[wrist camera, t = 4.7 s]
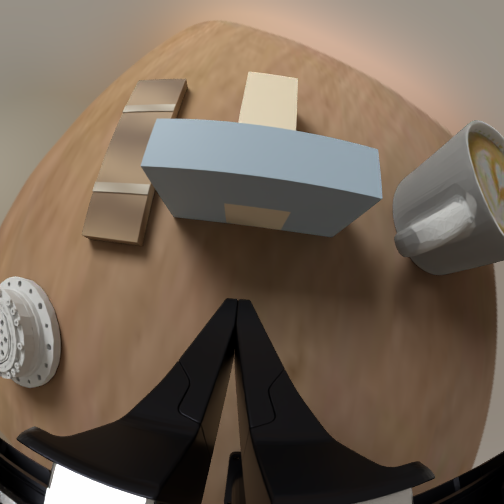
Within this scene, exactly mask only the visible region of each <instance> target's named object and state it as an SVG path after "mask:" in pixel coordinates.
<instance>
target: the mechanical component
mask: <svg viewBox="0 0 504 504" xmlns="http://www.w3.org/2000/svg"><path fill="white" fill-rule="evenodd" d="M60 353H61V339H60V331H59V325H58V322H57V318H56V314H55V310H54V308H53V306H52V304H51V302H50V301H49V299H48V297H47V295H46V293H45V292H44V291H43V289H42V288H41V287H40V286H39V285H37V284H36V283H35V282H34V281H32V280H28V279H25V278H21V277H15V276H14V277H10V278H8V279H6V280H5V281H3V282H2V283H1V284H0V376H2V377H3V378H8V379H12V380H13V381H14V382H16V383H17V384H19V385H21V386H24V387H28V388H32V387H37V386H41V385H44V384H45V383H47V382H48V381H49V380H50V379H51V378H52V377H53V376H54V375H55V372H56V369H57V367H58V364H59V359H60Z"/></svg>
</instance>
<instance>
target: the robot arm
mask: <svg viewBox="0 0 504 504" xmlns="http://www.w3.org/2000/svg"><path fill="white" fill-rule="evenodd" d="M234 352H235V355H234ZM233 359H234V360H235V378H236V393H237V407H238V421H239V433H240V446H241V452H232V453H231V454H230V457H229V465H228V474H227V482H226V490H225V498H224V504H504V451H503V452H501V453H500V454H498V455H497V456H495V457H493V458H492V459H490V460H488V461H486V462H485V463H483V464H481V465H480V466H478V467H476V468H474V469H472V470H470V471H468V472H466V473H464V474H462V475H460V476H458V477H456V478H454V479H452V480H450V481H447V482H445V483H443V484H441V485H439V486H437V487H434V488H432V489H430V490H428V491H425V492H423V493H420V494H418V495H415V496H413V495H412V487H415V486H417V485H420V484H423V483H425V482H427V481H430V480H432V479H434V478H435V476H434V474H433V473H432V471H431V470H430V469H429V468H428V467H426V466H425V465H423V464H422V463H421V462H419V461H417V462H412V463H408V464H405V465H402V466H398V467H386V466H381V465H379V464H377V463H375V462H373V461H371V460H369V459H367V458H365V457H363V456H362V455H360V454H358V453H356V452H354V451H353V450H351V449H349V448H347V447H346V446H344V445H342V444H341V443H339V442H338V441H336V440H335V439H334V438H332V437H331V436H330V435H329V434H328V432H327V431H326V430H325V429H324V428H323V426H322V425H321V424H320V422H319V421H318V420H317V418H316V417H315V416H314V414H313V413H312V412H311V410H310V409H309V407H308V406H307V405H306V403H305V402H304V401H303V399H302V398H301V396H300V395H299V393H298V392H297V390H296V388H295V387H294V385H293V383H292V381H291V380H290V378H289V376H288V374H287V372H286V370H285V368H284V366H283V364H282V363H281V361H280V359H279V357H278V355H277V353H276V351H275V349H274V347H273V345H272V343H271V341H270V339H269V337H268V335H267V333H266V331H265V329H264V327H263V325H262V323H261V321H260V319H259V317H258V315H257V313H256V311H255V309H254V307H253V305H252V303H251V301H250V300H245V299H239V300H237V299H232V298H227V299H226V300H225V301H224V302H223V303H222V305H221V306H220V307H219V309H218V310H217V311H216V312H215V314H214V315H213V316H212V318H211V319H210V320H209V322H208V323H207V324H206V325H205V327H204V328H203V329H202V331H201V332H200V333H199V334H198V336H197V337H196V338H195V340H194V341H193V342H192V343H191V345H190V346H189V347H188V349H187V350H186V351H185V352H184V354H183V355H182V356H181V358H180V359H179V361H178V362H177V363H176V364H175V365H174V366H173V368H172V369H171V370H170V371H169V373H168V374H167V375H166V376H165V377H164V379H163V380H162V381H161V382H160V383H159V384H158V385H157V386H156V387H155V388H154V389H153V390H152V391H151V392H150V393H149V394H148V395H147V396H146V397H144V398H143V399H142V400H141V401H140V402H139V403H138V404H137V405H136V406H135V407H134V408H133V409H132V410H131V411H130V412H128V413H127V414H126V415H125V416H123V417H122V418H120V419H119V420H117V421H115V422H112V423H109V424H106V425H104V426H101V427H98V428H94V429H91V430H88V431H85V432H82V433H78V434H75V435H71V436H55V435H52V434H50V433H48V432H46V431H44V430H42V429H40V428H38V427H32V428H30V429H27V430H25V431H24V432H22V433H21V434H20V435H19V436H18V437H17V440H18V441H19V442H21V443H22V444H24V445H25V446H27V447H28V448H30V449H31V450H33V451H35V452H36V453H38V454H40V455H41V456H43V457H45V458H46V459H48V460H50V461H52V462H53V465H52V469H51V470H49V469H47V468H45V467H44V466H42V465H40V464H39V463H37V462H35V461H34V460H32V459H30V458H29V457H27V456H26V455H24V454H23V453H21V452H20V451H18V450H17V449H15V448H14V447H13V446H11V445H10V444H8V443H7V442H5V441H4V440H3V439H1V438H0V504H201V502H202V498H203V494H204V489H205V485H206V481H207V476H208V472H209V467H210V463H211V458H212V454H213V450H214V445H215V441H216V436H217V432H218V427H219V423H220V418H221V414H222V409H223V405H224V400H225V396H226V391H227V387H228V382H229V378H230V373H231V369H232V364H233ZM235 456H237V457H239V458H238V459H235V458H233V457H235ZM228 502H232V503H228Z"/></svg>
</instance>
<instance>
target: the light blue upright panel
mask: <svg viewBox="0 0 504 504" xmlns="http://www.w3.org/2000/svg"><path fill="white" fill-rule="evenodd" d="M297 88H298V79H297V78H291V77H285V76H279V75H272V74H265V73H257V72H249V73H248V78H247V82H246V87H245V92H244V97H243V102H242V107H241V112H240V117H239V122H238V123H236V122H225V121H213V120H196V119H156V122H155V125H154V127H153V130H152V133H151V136H150V139H149V141H148V144H147V147H146V150H145V153H144V156H143V160H142V163H141V168H142V169H143V171H144V172H145V174H146V176H147V177H148V179H149V180H150V182H151V183H152V185H153V186H154V188H155V189H156V191H157V193H158V194H159V196H160V197H161V199H162V200H163V202H164V203H165V205H166V206H167V208H168V209H169V211H170V212H171V214H172V215H173V217H178V218H187V219H196V220H205V221H214V222H222V223H230V224H238V225H246V226H254V227H262V228H269V229H277V230H284V231H291V232H299V233H306V234H313V235H320V236H326V237H333V236H334V235H336V234H337V233H338V232H340V231H341V230H342V229H344V228H345V227H346V226H348V225H349V224H350V223H352V222H353V221H354V220H356V219H357V218H358V217H359V216H361V215H362V214H363V213H365V212H366V211H367V210H369V209H370V208H371V207H372V206H374V205H375V204H376V203H378V202H379V201H380V200H381V199H382V186H381V174H380V164H379V155H378V149H374V148H371V147H367V146H363V145H359V144H356V143H352V142H348V141H343V140H339V139H335V138H330V137H326V136H321V135H316V134H311V133H306V132H300V131H296V117H297Z"/></svg>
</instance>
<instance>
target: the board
mask: <svg viewBox="0 0 504 504" xmlns="http://www.w3.org/2000/svg"><path fill="white" fill-rule="evenodd" d="M187 88H188V87H187V81H186V79H159V80H141V81H138V83H137V85H136V87H135V89H134V91H133V93H132V95H131V97H130V99H129V101H128V103H127V105H126V106H125V108H124V110H123V114H122V116H121V118H120V120H119V123H118V125H117V127H116V130H115V132H114V134H113V137H112V139H111V142H110V144H109V147H108V149H107V152H106V155H105V157H104V160H103V163H102V166H101V169H100V172H99V175H98V178H97V181H96V182H95V185H94V188H93V194H92V197H91V200H90V204H89V208H88V211H87V215H86V219H85V223H84V227H83V231H82V235H83V236H85V237H86V238H88V239H94V240H102V241H109V242H116V243H123V244H131V245H138V246H143V241H144V236H145V231H146V226H147V222H148V217H149V213H150V208H151V204H152V200H153V196H154V192H155V188H154V186H153V185H152V183H151V182H150V180H149V179H148V177H147V176H146V174H145V172H144V171H143V169H142V168H141V163H142V160H143V156H144V153H145V150H146V147H147V144H148V141H149V139H150V136H151V133H152V130H153V127H154V125H155V122H156V119H176V118H177V115H178V112H179V109H180V106H181V103H182V101H183V98H184V95H185V93H186V90H187Z"/></svg>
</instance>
